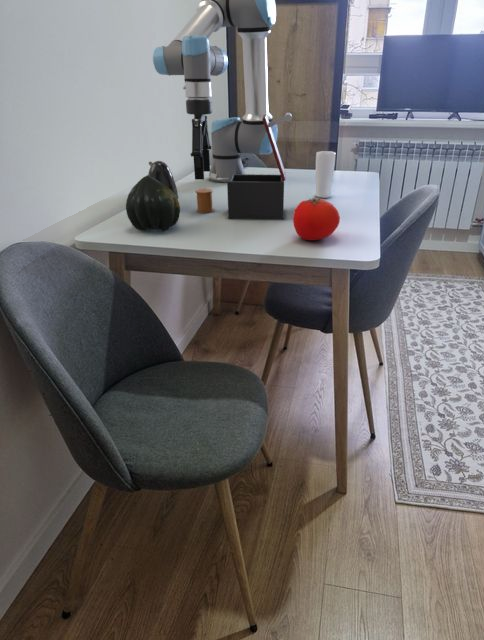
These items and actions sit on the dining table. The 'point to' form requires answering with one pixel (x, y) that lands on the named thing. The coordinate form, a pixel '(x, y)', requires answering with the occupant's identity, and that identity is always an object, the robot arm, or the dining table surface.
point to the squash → (152, 205)
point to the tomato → (315, 219)
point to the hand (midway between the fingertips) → (202, 175)
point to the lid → (272, 141)
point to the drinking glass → (324, 173)
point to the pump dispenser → (162, 175)
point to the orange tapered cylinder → (204, 200)
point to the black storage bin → (255, 196)
